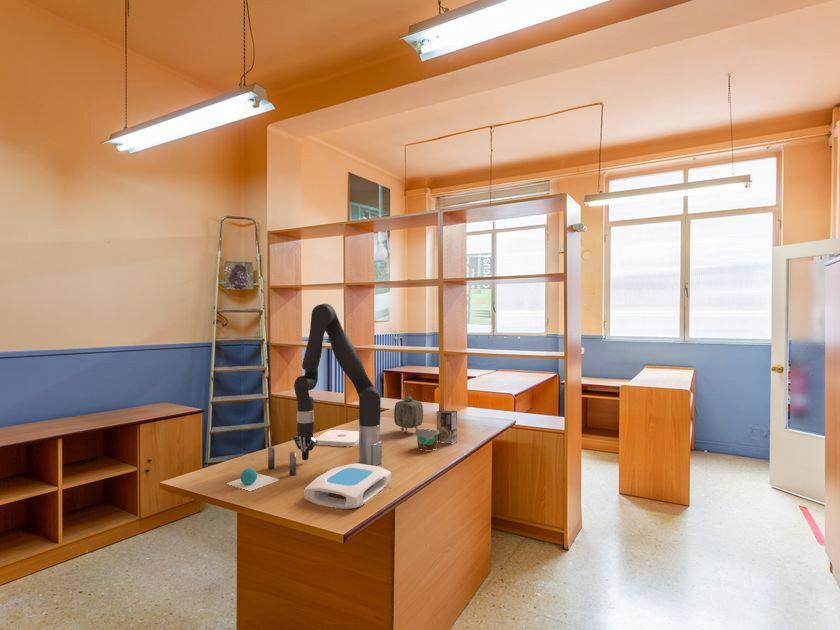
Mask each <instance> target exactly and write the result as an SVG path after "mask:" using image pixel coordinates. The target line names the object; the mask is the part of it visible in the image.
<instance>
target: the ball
mask: <svg viewBox="0 0 840 630" xmlns="http://www.w3.org/2000/svg"><path fill="white" fill-rule="evenodd" d="M257 473H258V472H257V471H256V470H255V469H254V468H251V467H250V468H249V467H247V468H245V469H244V470H243V471H242V472H241V474H240V477H239V479H241V481H242V483H243V484H246V485H250V484H252V483H254V482H255V480H256V479H257Z"/></svg>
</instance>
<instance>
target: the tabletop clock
mask: <svg viewBox="0 0 840 630" xmlns="http://www.w3.org/2000/svg"><path fill="white" fill-rule="evenodd" d="M405 390H410V391H412V393H411V394H410V393H409V392H408V393H405ZM402 393H403V394H404V398H403V400H400V401H397V402H395V405H394V408H393V410H394V411H393V412H394V413H393V414H394V415H393V419H394V424H395V425H396V426H397V427H400V429H401V431H404V430H405V431H404V434H405V435H407V434H408V429H416V428H418V427H419V426H422V425H423V421H424V405H423V403H422V402H421V401H419V400H416V399H413V397H412V396H413V395H414V394H415V393H414V390H413V388H410V387H405V388H404V389H403V390H402Z"/></svg>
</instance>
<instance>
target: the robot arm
mask: <svg viewBox="0 0 840 630" xmlns="http://www.w3.org/2000/svg"><path fill="white" fill-rule="evenodd" d="M325 333H326V335H327V336H328V339H329V342H330V347H331V350H332V353H333V356H334V357H335V359H336V362H337V363H338V365H339V367H340V368H341V369H342V371H343V373H344V374H345V375H346V376H347V377H348V379H349V380H350V381H351V383H352V384H353V386H354V388H355V391H356V392H357V393H356V394H357V395H358V396H357V397H358V431H359V443H358V464H365V465H372V466H376V465H377V466H379V465H381V464H382V462H383V459H382V457H383V454H382V452H383V451H382V449H383V446H382V445H383V442H382V441H381V408H382V407H381V403H382V401H381V395H380V392H379V391H378V389H377V388H376V386H375V385H374V384H373V382H372V380H371V379H370V377H369V375H367V372H366V370H365V367H364V365H363V362H362V360H361V358H360V356H359V354H358V351H357V350H356V348H355V346H354V344H353V343H352V341H351V340H350V338H349V336H348V335H347V334H346V333H347V332H345V330H344V329H343V327H342V324H341V322H340V320H339V317H338V315H337V313H336V310H335V308H334V307H333V305H331V304H329V303H322V304H317V305H315V306H314V307H313V309H312V310H311V317H310V329H309V336H308V339H307V344H306V349H305V352H304V357H303V358H302V359H303V360H302V364H301V367H302V369H303V371H304V375H300V376H298V377H296V379H295V380H294V385H293V388H294V392H295V398H296V401H297V403H296V405H297V409H296V412H297V413H296V432H297V435H296V436H295V437H293V441H294V442H295V445H296V447H297V449H298V450H300V452H301V460H302V461H308V460H309V457H310V456H309V455H310V451H313V449H314V448H315V446H316V443H317V440H315V438H314V431H315V412H314V411H315V409H314V407H315V406H314V405H315V402H314V401H315V400H314V397H313V396H310V391H312V390H313V389H315V388H316V386H317V385H318V382H319V381H318V380H319V366H320V362H321V357H322V353H323V343H324V342H323V341H324V336H325ZM380 463H381V464H380ZM378 464H379V465H378Z"/></svg>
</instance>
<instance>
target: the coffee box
mask: <svg viewBox="0 0 840 630" xmlns="http://www.w3.org/2000/svg"><path fill="white" fill-rule="evenodd" d="M438 429H439V433H440V434H438V441H440V442H447V443H453V442H455V441H457V442H458V411H457V410H451V409H445V408H444V409H439V410H437V411H436V430H438Z"/></svg>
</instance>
